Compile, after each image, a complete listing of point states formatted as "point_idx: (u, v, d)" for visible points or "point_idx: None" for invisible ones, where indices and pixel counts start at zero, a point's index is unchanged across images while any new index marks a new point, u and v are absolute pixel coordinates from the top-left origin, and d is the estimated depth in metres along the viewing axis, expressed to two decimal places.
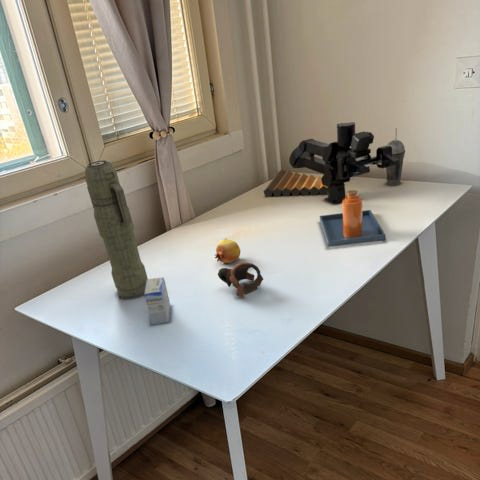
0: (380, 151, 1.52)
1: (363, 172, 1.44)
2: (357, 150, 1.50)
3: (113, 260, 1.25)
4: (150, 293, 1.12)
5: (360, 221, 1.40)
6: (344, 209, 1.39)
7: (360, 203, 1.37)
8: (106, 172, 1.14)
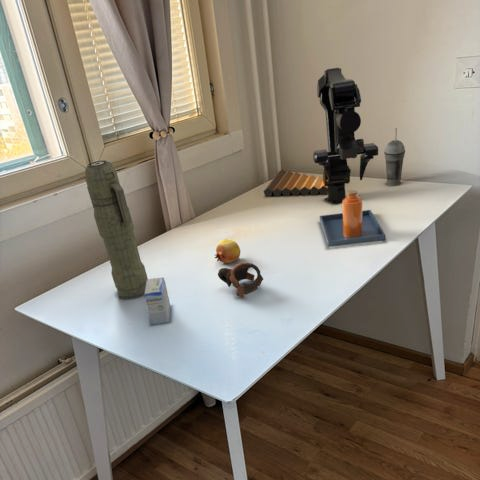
0: None
1: (327, 177, 1.50)
2: None
3: (113, 260, 1.25)
4: (150, 293, 1.12)
5: (360, 221, 1.40)
6: (344, 209, 1.39)
7: (360, 203, 1.37)
8: (106, 172, 1.14)
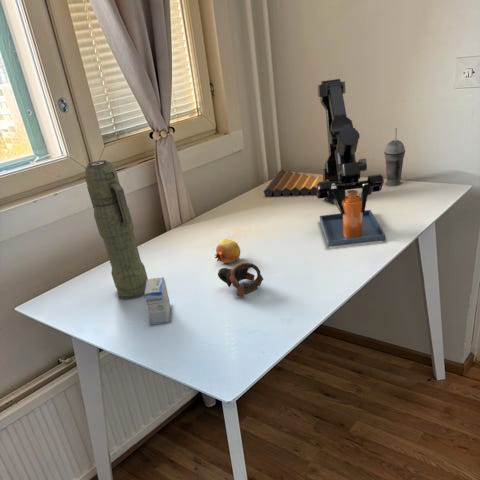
0: None
1: (339, 210, 1.41)
2: (343, 176, 1.38)
3: (113, 260, 1.25)
4: (150, 293, 1.12)
5: (360, 221, 1.40)
6: (344, 209, 1.39)
7: (360, 203, 1.37)
8: (106, 172, 1.14)
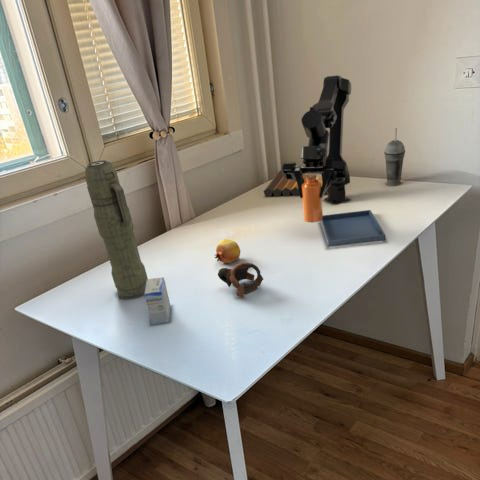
0: None
1: None
2: (306, 159, 1.38)
3: (113, 260, 1.25)
4: (150, 293, 1.12)
5: (317, 206, 1.39)
6: (302, 192, 1.39)
7: (316, 188, 1.36)
8: (106, 172, 1.14)
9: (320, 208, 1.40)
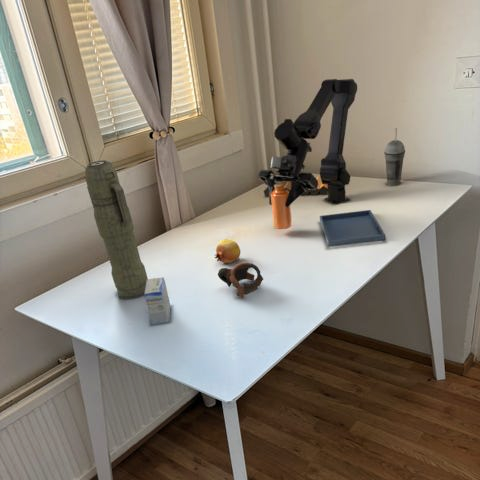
0: None
1: None
2: (278, 168, 1.44)
3: (113, 260, 1.25)
4: (150, 293, 1.12)
5: (283, 214, 1.46)
6: None
7: (281, 197, 1.43)
8: (106, 172, 1.14)
9: (286, 216, 1.46)
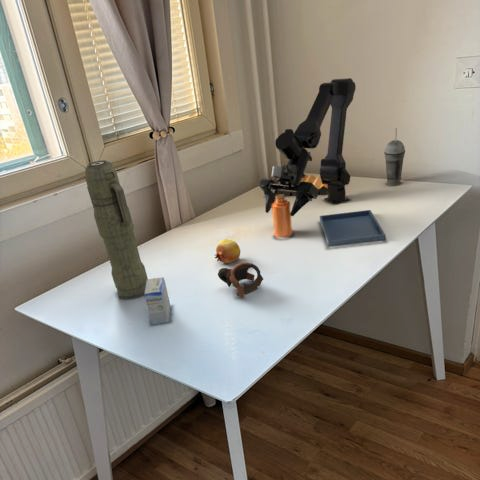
0: None
1: None
2: (279, 178, 1.46)
3: (113, 260, 1.25)
4: (150, 293, 1.12)
5: (284, 225, 1.47)
6: (272, 210, 1.48)
7: (282, 208, 1.45)
8: (106, 172, 1.14)
9: (287, 227, 1.48)
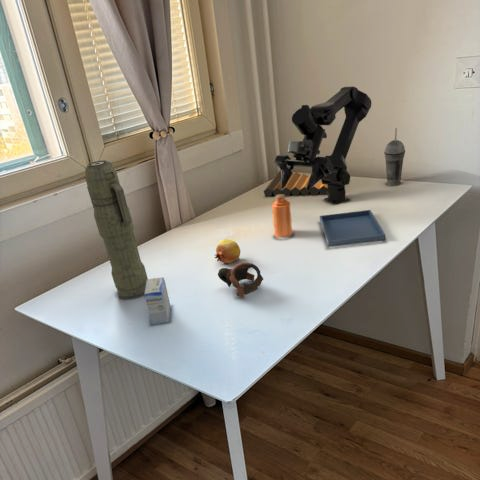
0: None
1: None
2: (295, 153, 1.49)
3: (113, 260, 1.25)
4: (150, 293, 1.12)
5: (284, 225, 1.47)
6: (272, 210, 1.48)
7: (282, 208, 1.45)
8: (106, 172, 1.14)
9: (287, 227, 1.48)
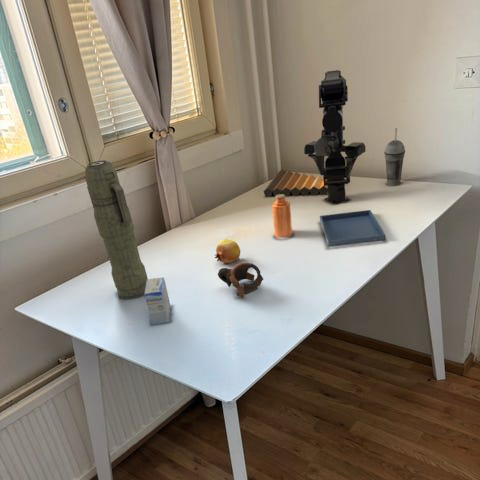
0: None
1: None
2: None
3: (113, 260, 1.25)
4: (150, 293, 1.12)
5: (284, 225, 1.47)
6: (272, 210, 1.48)
7: (282, 208, 1.45)
8: (106, 172, 1.14)
9: (287, 227, 1.48)
